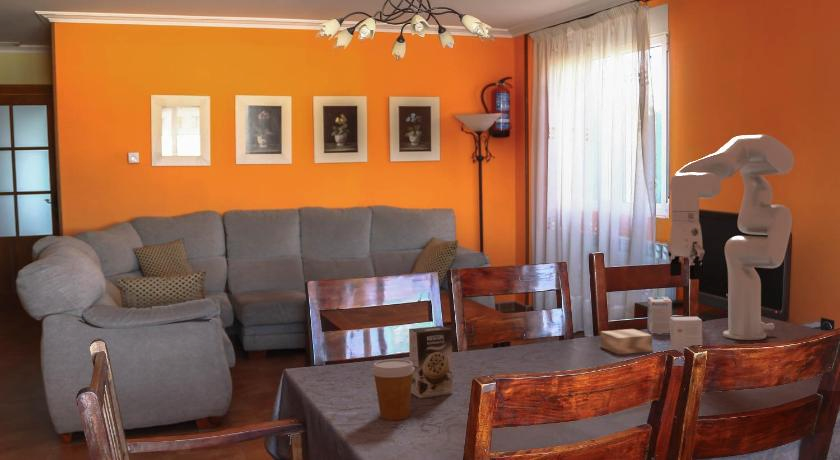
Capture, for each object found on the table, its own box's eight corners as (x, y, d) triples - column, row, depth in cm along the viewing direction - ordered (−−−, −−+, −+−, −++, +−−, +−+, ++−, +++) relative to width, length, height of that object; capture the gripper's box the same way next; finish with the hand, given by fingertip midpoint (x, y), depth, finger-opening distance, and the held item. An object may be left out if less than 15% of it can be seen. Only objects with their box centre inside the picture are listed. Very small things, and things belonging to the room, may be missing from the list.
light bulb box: (647, 328, 282) (646, 296, 282) (667, 328, 281) (667, 296, 281) (651, 334, 272) (651, 301, 271) (672, 334, 271) (672, 301, 270)
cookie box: (419, 398, 203) (417, 332, 202) (409, 392, 209) (407, 328, 207) (454, 393, 206) (452, 328, 205) (442, 388, 212) (441, 324, 211)
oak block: (633, 344, 258) (633, 328, 258) (652, 352, 248) (652, 335, 247) (600, 347, 256) (600, 331, 255) (618, 355, 245) (618, 338, 245)
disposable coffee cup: (376, 410, 194) (375, 358, 193) (417, 410, 193) (416, 358, 192) (370, 422, 184) (368, 368, 184) (413, 422, 184) (412, 368, 183)
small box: (698, 352, 244) (698, 316, 244) (702, 356, 239) (702, 319, 238) (670, 352, 245) (669, 316, 244) (673, 356, 240) (673, 320, 239)
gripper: (714, 218, 232) (714, 280, 233) (680, 215, 249) (680, 273, 250) (690, 219, 230) (690, 281, 231) (657, 216, 247) (657, 274, 248)
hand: (685, 277), depth 240 cm, fingers open, 9 cm apart
